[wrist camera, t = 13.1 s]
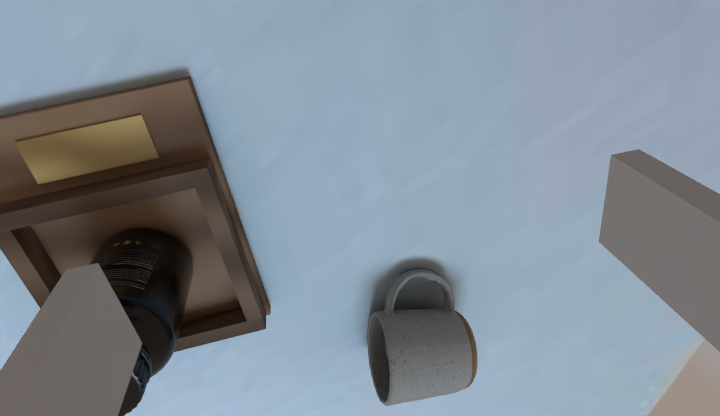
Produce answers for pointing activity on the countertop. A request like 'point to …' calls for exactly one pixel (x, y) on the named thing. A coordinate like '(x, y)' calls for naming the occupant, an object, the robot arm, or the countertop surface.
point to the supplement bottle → (148, 296)
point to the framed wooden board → (128, 199)
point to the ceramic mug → (420, 347)
